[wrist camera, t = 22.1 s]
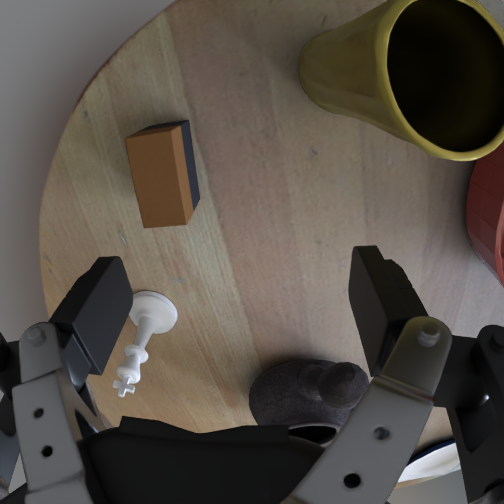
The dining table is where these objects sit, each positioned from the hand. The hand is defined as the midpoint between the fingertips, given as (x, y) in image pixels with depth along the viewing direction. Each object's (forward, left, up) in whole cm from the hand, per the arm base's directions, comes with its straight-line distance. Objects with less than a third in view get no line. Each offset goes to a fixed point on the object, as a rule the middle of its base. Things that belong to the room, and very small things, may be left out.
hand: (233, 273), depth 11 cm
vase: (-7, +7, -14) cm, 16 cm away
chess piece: (+13, -10, -14) cm, 21 cm away
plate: (+61, +37, -14) cm, 72 cm away
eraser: (-1, -5, -13) cm, 14 cm away
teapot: (+22, +6, -14) cm, 26 cm away
